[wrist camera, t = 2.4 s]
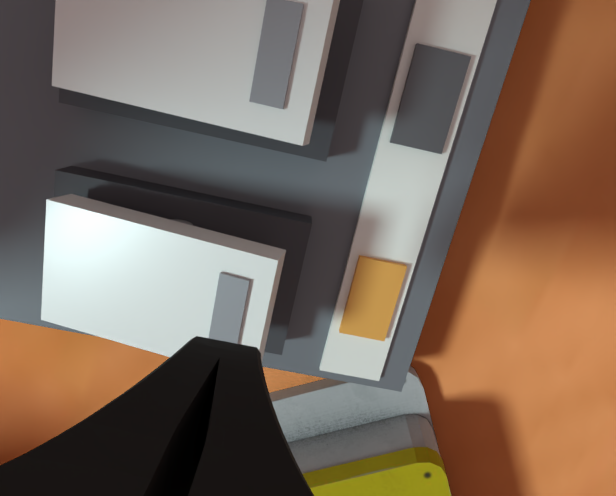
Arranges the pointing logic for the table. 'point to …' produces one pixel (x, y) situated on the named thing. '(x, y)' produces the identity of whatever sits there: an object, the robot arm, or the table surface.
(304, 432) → the emergency button
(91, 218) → the rocker
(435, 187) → the panel
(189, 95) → the rocker
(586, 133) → the table surface
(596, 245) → the table surface
